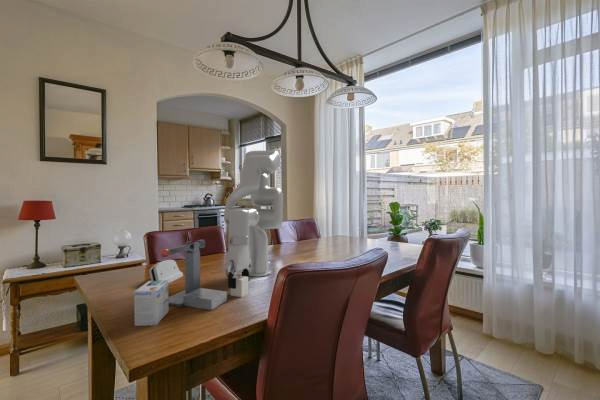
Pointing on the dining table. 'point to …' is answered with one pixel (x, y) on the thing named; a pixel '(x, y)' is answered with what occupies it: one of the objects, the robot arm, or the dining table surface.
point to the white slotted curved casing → (165, 271)
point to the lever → (180, 248)
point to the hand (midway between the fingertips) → (238, 284)
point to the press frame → (196, 286)
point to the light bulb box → (151, 303)
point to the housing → (240, 286)
